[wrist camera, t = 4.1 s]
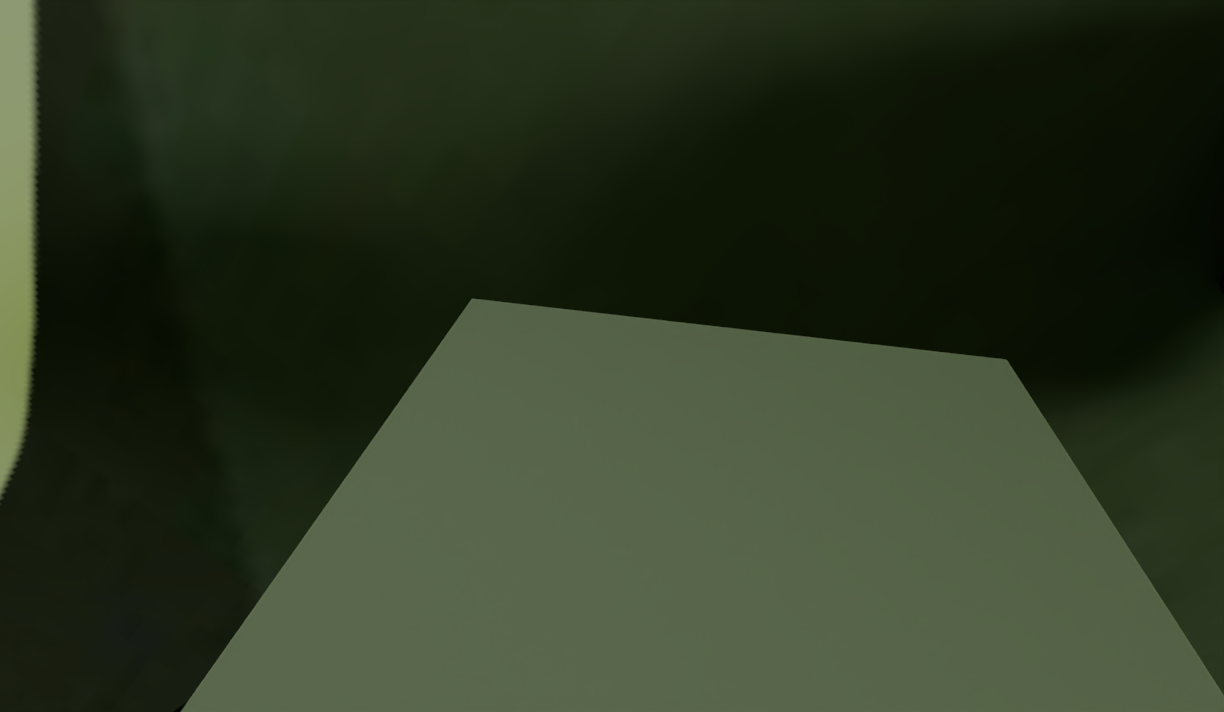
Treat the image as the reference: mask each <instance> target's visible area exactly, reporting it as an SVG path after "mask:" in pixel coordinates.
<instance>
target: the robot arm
mask: <svg viewBox="0 0 1224 712" xmlns="http://www.w3.org/2000/svg"><path fill="white" fill-rule="evenodd" d="M1220 287H1221V291H1222V293H1223V294H1224V272H1223V274H1222V277H1221V282H1220ZM188 701H189V700H188ZM188 701H187V702H188ZM187 702H186V703H184V704H183V705H182V706H180V707H179V708H178V709H176V710H175V711H173V712H181V711H182V709H183V708H184V707H185V705H186V704H187Z"/></svg>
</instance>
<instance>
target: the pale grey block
mask: <svg viewBox="0 0 1224 712" xmlns="http://www.w3.org/2000/svg"><path fill="white" fill-rule="evenodd" d="M181 712H1224V695H1223V694H1222V692H1221V691H1220V689H1219V687H1218V686H1217V684H1216V683H1215V681H1214V680H1213V678H1212V677H1211V675H1210V674H1209V672H1208V670H1207V669H1206V667H1205V666H1204V664H1203V663H1202V661H1201V660H1200V658H1199V656H1198V655H1197V653H1196V652H1195V650H1194V649H1193V647H1192V646H1191V644H1190V643H1189V641H1188V639H1187V638H1186V636H1185V635H1184V633H1183V632H1182V630H1181V629H1180V627H1179V626H1178V624H1177V622H1176V621H1175V619H1174V618H1173V616H1172V615H1171V613H1170V612H1169V610H1168V609H1167V607H1166V605H1165V604H1164V602H1163V601H1162V599H1161V598H1160V596H1159V595H1158V593H1157V591H1156V590H1155V588H1154V587H1153V585H1152V584H1151V582H1150V581H1149V579H1148V578H1147V576H1146V574H1145V573H1144V571H1143V570H1142V568H1141V567H1140V565H1139V564H1138V562H1137V561H1136V559H1135V557H1134V556H1133V554H1132V553H1131V551H1130V550H1129V548H1128V547H1127V545H1126V543H1125V542H1124V540H1123V539H1122V537H1121V536H1120V534H1119V533H1118V531H1117V530H1116V528H1115V526H1114V525H1113V523H1112V522H1111V520H1110V519H1109V517H1108V516H1107V514H1106V513H1105V511H1104V509H1103V508H1102V506H1101V505H1100V503H1099V502H1098V500H1097V499H1096V497H1095V496H1094V494H1093V492H1092V491H1091V489H1090V488H1089V486H1088V485H1087V483H1086V482H1085V480H1084V478H1083V477H1082V475H1081V474H1080V472H1079V471H1078V469H1077V468H1076V466H1075V465H1074V463H1073V461H1072V460H1071V458H1070V457H1069V455H1068V454H1067V452H1066V451H1065V449H1064V448H1063V446H1062V444H1061V443H1060V441H1059V440H1058V438H1057V437H1056V435H1055V434H1054V432H1053V431H1052V429H1051V427H1050V426H1049V424H1048V423H1047V421H1046V420H1045V418H1044V417H1043V415H1042V413H1041V412H1040V410H1039V409H1038V407H1037V406H1036V404H1035V403H1034V401H1033V400H1032V398H1031V396H1030V395H1029V393H1028V392H1027V390H1026V389H1025V387H1024V386H1023V384H1022V383H1021V381H1020V379H1019V378H1018V376H1017V375H1016V373H1015V372H1014V370H1013V369H1012V367H1011V366H1010V364H1009V362H1008V361H1007V360H1006V359H998V358H989V357H980V356H971V355H963V354H954V353H945V352H936V351H927V350H919V349H910V348H901V347H892V346H884V345H875V344H866V343H857V342H848V341H840V340H831V339H822V338H813V337H805V336H796V335H787V334H778V333H770V332H761V331H752V330H743V329H734V328H726V327H717V326H708V325H699V324H691V323H682V322H673V321H664V320H656V319H647V318H638V317H629V316H620V315H612V314H603V313H594V312H585V311H577V310H568V309H559V308H550V307H541V306H533V305H524V304H515V303H506V302H498V301H489V300H480V299H471V301H470V302H469V303H468V305H467V306H466V308H465V309H464V311H463V312H462V313H461V315H460V316H459V318H458V319H457V321H456V322H455V323H454V325H453V326H452V328H451V329H450V330H449V332H448V333H447V335H446V336H445V338H444V339H443V340H442V342H441V343H440V345H439V346H438V347H437V349H436V350H435V352H434V353H433V355H432V356H431V357H430V359H429V360H428V362H427V363H426V365H425V366H424V367H423V369H422V370H421V372H420V373H419V374H418V376H417V377H416V379H415V380H414V382H413V383H412V384H411V386H410V387H409V389H408V390H407V391H406V393H405V394H404V396H403V397H402V399H401V400H400V401H399V403H398V404H397V406H396V407H395V409H394V410H393V411H392V413H391V414H390V416H389V417H388V418H387V420H386V421H385V423H384V424H383V426H382V427H381V428H380V430H379V431H378V433H377V434H376V435H375V437H374V438H373V440H372V441H371V443H370V444H369V445H368V447H367V448H366V450H365V451H364V452H363V454H362V455H361V457H360V458H359V460H358V461H357V462H356V464H355V465H354V467H353V468H352V470H351V471H350V472H349V474H348V475H347V477H346V478H345V479H344V481H343V482H342V484H341V485H340V487H339V488H338V489H337V491H336V492H335V494H334V495H333V496H332V498H331V499H330V501H329V502H328V504H327V505H326V506H325V508H324V509H323V511H322V512H321V514H320V515H319V516H318V518H317V519H316V521H315V522H314V523H313V525H312V526H311V528H310V529H309V531H308V532H307V533H306V535H305V536H304V538H303V539H302V540H301V542H300V543H299V545H298V546H297V548H296V549H295V550H294V552H293V553H292V555H291V556H290V558H289V559H288V560H287V562H286V563H285V565H284V566H283V567H282V569H281V570H280V572H279V573H278V575H277V576H276V577H275V579H274V580H273V582H272V583H271V584H270V586H269V587H268V589H267V590H266V592H265V593H264V594H263V596H262V597H261V599H260V600H259V602H258V603H257V604H256V606H255V607H254V609H253V610H252V611H251V613H250V614H249V616H248V617H247V619H246V620H245V621H244V623H243V624H242V626H241V627H240V628H239V630H238V631H237V633H236V634H235V636H234V637H233V638H232V640H231V641H230V643H229V644H228V646H227V647H226V648H225V650H224V651H223V653H222V654H221V655H220V657H219V658H218V660H217V661H216V663H215V664H214V665H213V667H212V668H211V670H210V671H209V672H208V674H207V675H206V677H205V678H204V680H203V681H202V682H201V684H200V685H199V687H198V688H197V689H196V691H195V692H194V694H193V695H192V697H191V698H190V699H189V701H188V702H187V704H186V705H185V707H184V708H183V709H182V711H181Z"/></svg>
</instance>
